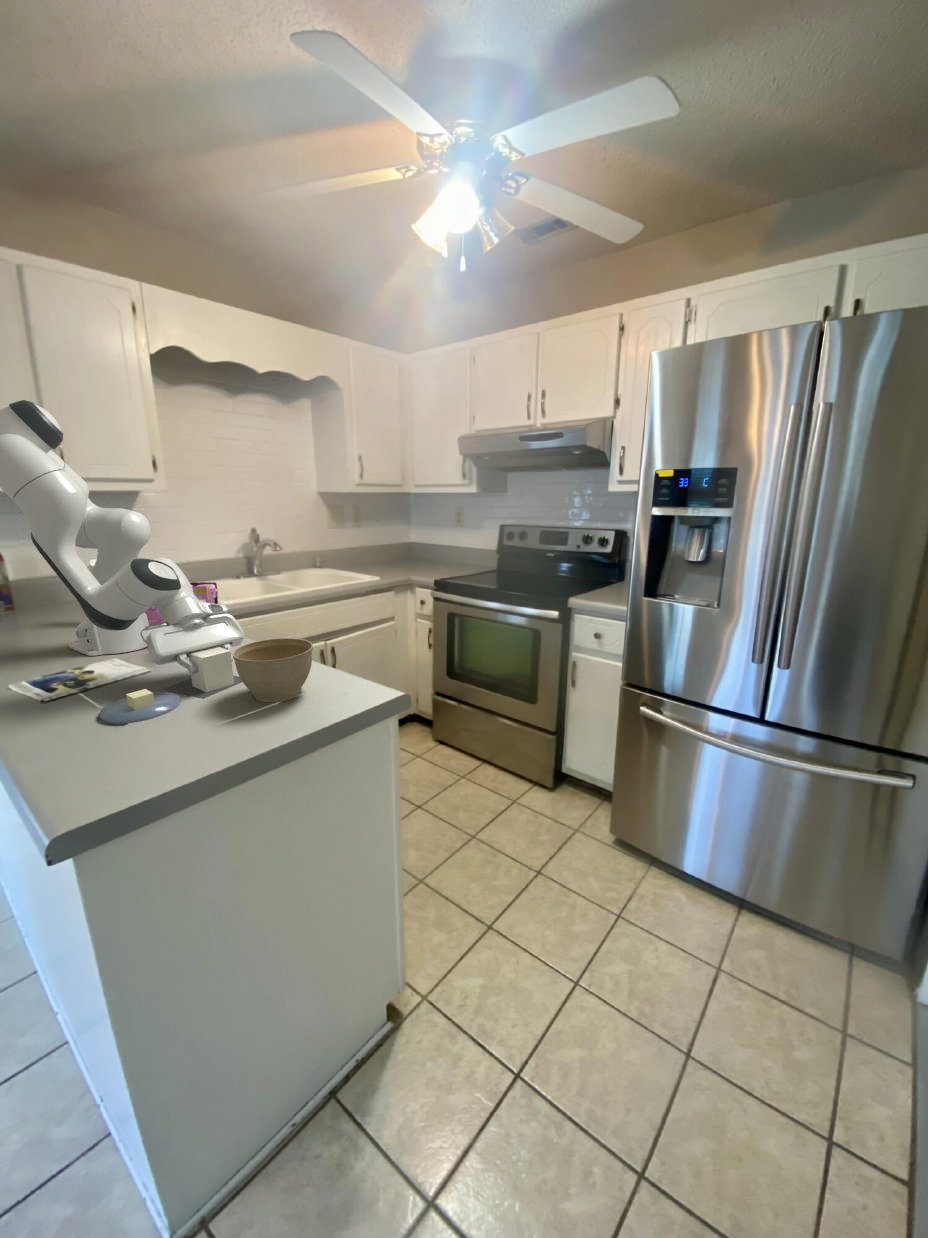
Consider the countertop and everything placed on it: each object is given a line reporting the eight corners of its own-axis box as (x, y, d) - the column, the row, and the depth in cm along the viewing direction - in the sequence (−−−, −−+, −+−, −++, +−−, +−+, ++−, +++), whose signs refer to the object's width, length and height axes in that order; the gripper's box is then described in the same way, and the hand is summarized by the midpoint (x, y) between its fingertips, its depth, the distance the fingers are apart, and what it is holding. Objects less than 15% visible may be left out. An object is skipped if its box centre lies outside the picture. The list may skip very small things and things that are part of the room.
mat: (161, 691, 114) (161, 689, 114) (210, 672, 125) (210, 671, 125) (203, 700, 109) (203, 698, 109) (250, 680, 120) (250, 678, 120)
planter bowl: (266, 679, 121) (262, 635, 118) (328, 685, 118) (325, 640, 115) (221, 706, 106) (215, 656, 103) (290, 714, 102) (286, 662, 100)
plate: (84, 717, 101) (83, 712, 100) (150, 692, 113) (150, 688, 113) (131, 730, 95) (130, 725, 95) (196, 702, 108) (195, 698, 107)
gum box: (225, 620, 176) (220, 582, 173) (215, 626, 169) (210, 586, 165) (154, 621, 175) (149, 582, 172) (141, 626, 168) (135, 586, 164)
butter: (127, 705, 104) (125, 694, 103) (147, 700, 106) (145, 688, 106) (135, 710, 101) (133, 698, 101) (154, 704, 104) (152, 693, 104)
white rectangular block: (192, 686, 116) (188, 652, 114) (219, 678, 121) (216, 645, 119) (206, 692, 112) (202, 658, 110) (234, 684, 117) (230, 651, 115)
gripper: (140, 619, 108) (167, 672, 105) (231, 603, 124) (258, 649, 121) (134, 636, 112) (160, 688, 109) (224, 618, 128) (249, 663, 124)
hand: (212, 667), depth 115 cm, fingers closed on white rectangular block, 6 cm apart
